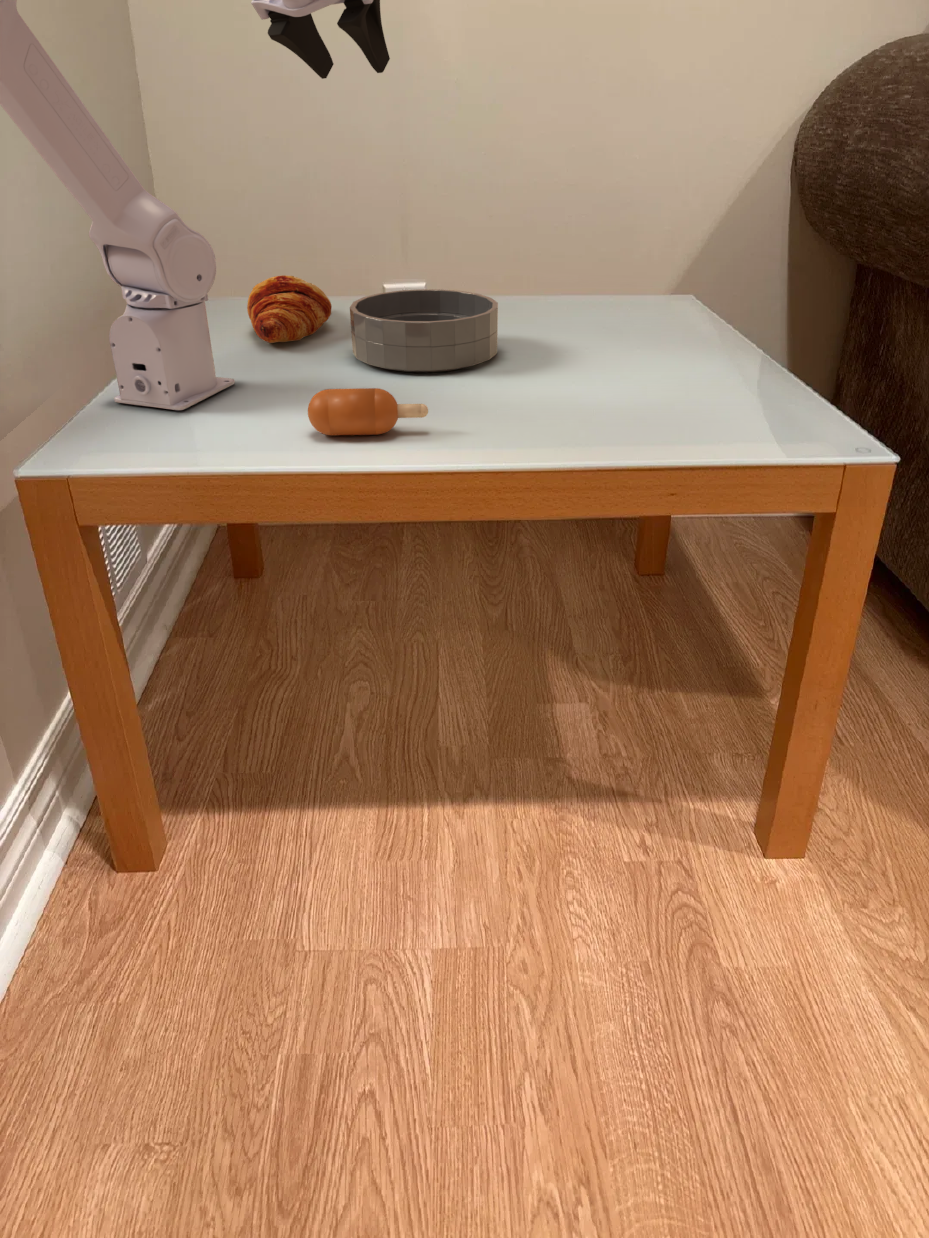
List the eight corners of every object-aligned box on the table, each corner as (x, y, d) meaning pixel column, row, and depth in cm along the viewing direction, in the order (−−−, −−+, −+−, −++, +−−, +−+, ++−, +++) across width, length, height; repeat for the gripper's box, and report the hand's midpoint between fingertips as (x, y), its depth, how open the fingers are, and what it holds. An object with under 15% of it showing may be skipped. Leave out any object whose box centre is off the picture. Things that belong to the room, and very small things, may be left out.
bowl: (467, 381, 95) (467, 327, 92) (328, 367, 100) (324, 315, 97) (515, 343, 108) (516, 295, 105) (390, 332, 113) (388, 285, 110)
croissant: (288, 335, 125) (255, 281, 121) (351, 299, 122) (319, 243, 119) (252, 378, 106) (211, 315, 103) (325, 337, 104) (286, 271, 100)
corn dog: (307, 442, 80) (303, 398, 78) (312, 426, 83) (308, 383, 81) (429, 440, 80) (427, 396, 78) (428, 423, 84) (427, 381, 82)
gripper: (359, -103, 83) (425, 33, 95) (245, -77, 91) (318, 46, 102) (328, -45, 82) (398, 85, 93) (214, -24, 89) (292, 95, 100)
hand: (355, 68), depth 97 cm, fingers open, 7 cm apart
